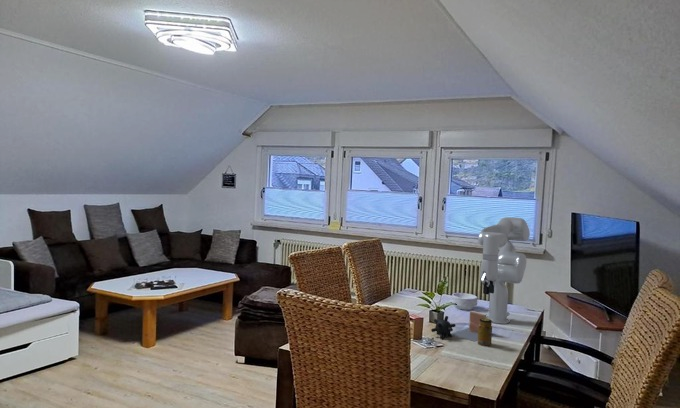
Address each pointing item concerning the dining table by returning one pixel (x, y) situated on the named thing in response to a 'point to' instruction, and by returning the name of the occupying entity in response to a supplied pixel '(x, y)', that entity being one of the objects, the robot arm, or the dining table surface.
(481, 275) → the robot arm
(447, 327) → the toy ball
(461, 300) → the paper bowls
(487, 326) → the condiment
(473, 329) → the birch tile
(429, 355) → the dining table surface
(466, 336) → the rubber mat
